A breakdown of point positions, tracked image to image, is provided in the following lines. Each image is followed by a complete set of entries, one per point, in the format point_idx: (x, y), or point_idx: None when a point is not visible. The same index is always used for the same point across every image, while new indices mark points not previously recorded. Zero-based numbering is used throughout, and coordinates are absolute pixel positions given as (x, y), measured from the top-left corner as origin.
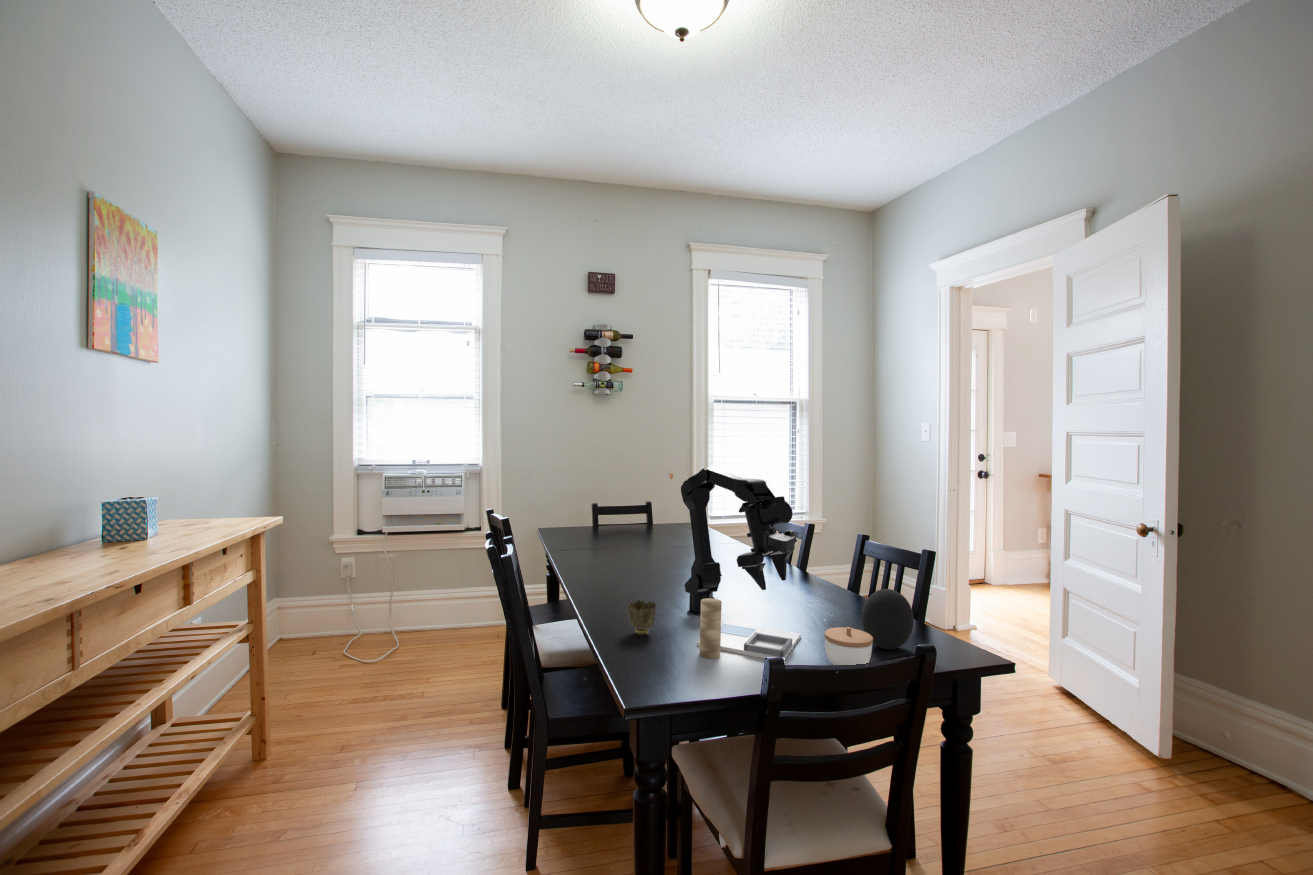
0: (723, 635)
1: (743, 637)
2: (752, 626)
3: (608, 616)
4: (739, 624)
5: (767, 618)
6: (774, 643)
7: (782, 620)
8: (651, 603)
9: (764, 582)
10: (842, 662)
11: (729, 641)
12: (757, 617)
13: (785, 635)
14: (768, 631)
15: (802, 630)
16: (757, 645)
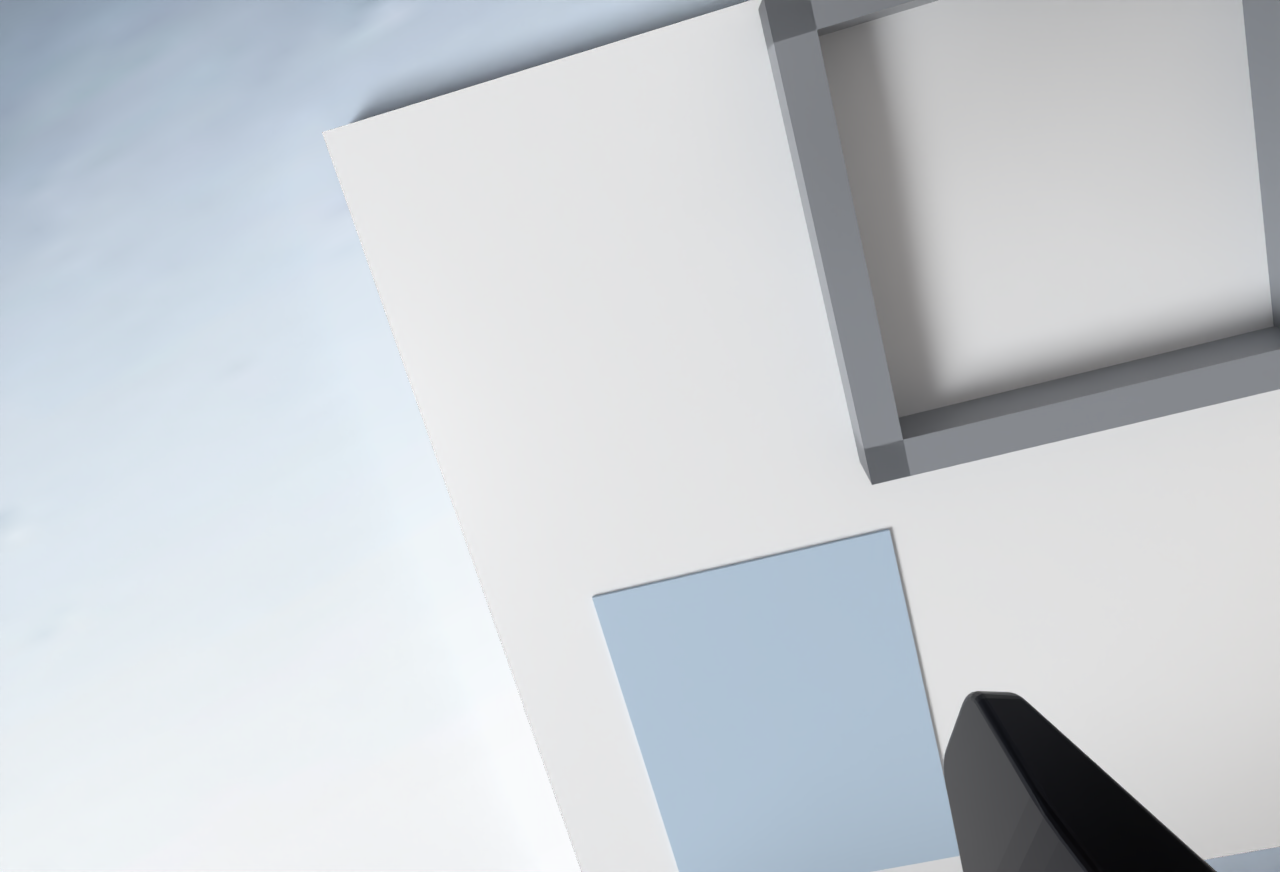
0: None
1: (929, 562)
2: (534, 666)
3: None
4: (583, 789)
5: (103, 710)
6: (869, 201)
7: (20, 569)
8: None
9: (1138, 862)
10: None
11: (1145, 606)
12: (164, 793)
13: (519, 245)
14: (547, 461)
15: (111, 242)
16: None
